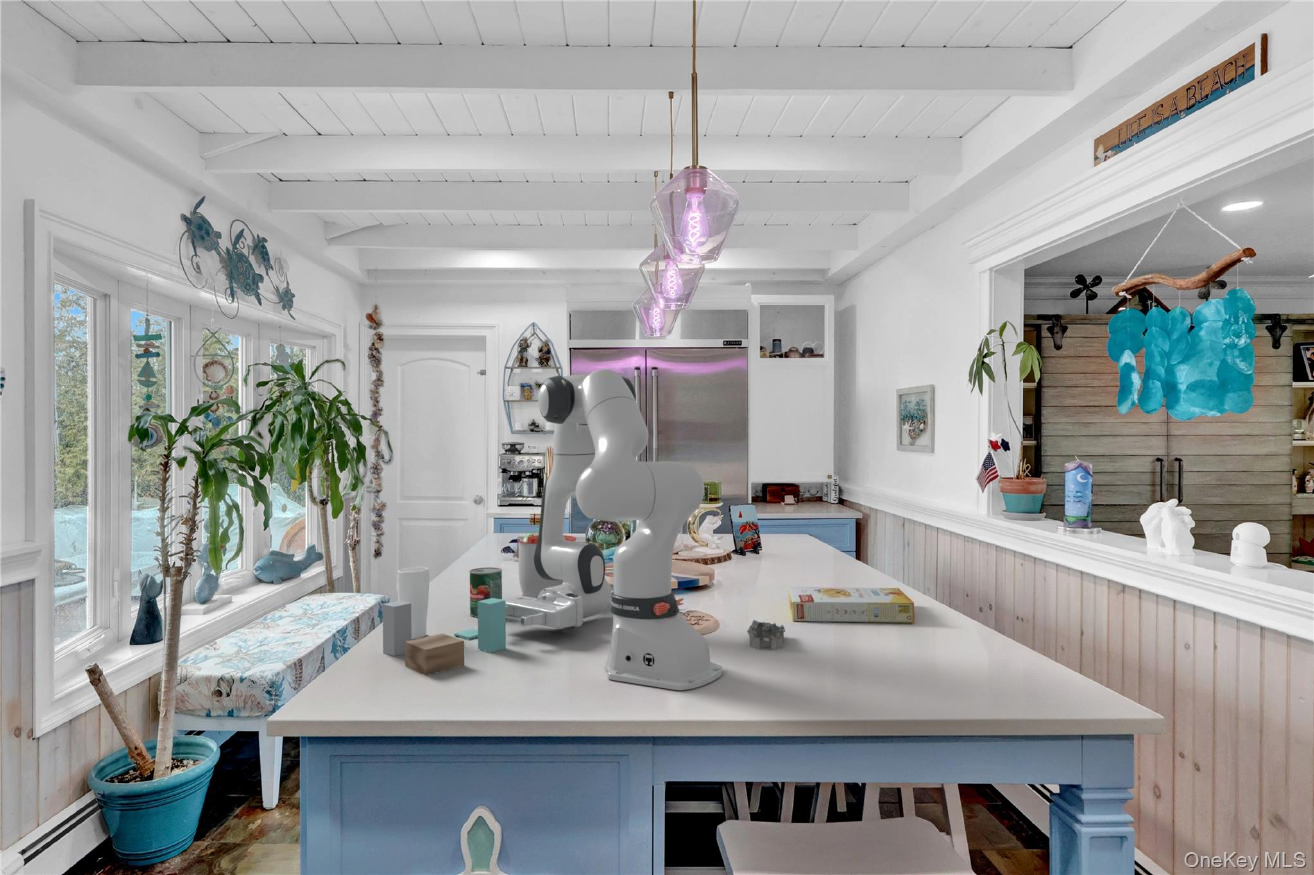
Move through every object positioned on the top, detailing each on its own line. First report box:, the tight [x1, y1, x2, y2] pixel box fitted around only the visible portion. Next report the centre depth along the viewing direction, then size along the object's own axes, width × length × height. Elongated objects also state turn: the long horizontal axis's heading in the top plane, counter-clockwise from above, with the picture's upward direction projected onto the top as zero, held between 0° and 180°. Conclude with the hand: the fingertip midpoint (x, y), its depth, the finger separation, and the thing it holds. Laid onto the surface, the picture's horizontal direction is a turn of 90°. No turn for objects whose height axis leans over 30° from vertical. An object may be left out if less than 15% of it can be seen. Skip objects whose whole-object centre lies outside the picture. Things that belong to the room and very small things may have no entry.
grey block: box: [382, 600, 413, 657], centre depth 151 cm, size 4×4×10 cm
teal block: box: [477, 598, 507, 653], centre depth 153 cm, size 4×4×10 cm
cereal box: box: [788, 585, 916, 624], centre depth 181 cm, size 20×6×28 cm
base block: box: [404, 632, 465, 676], centre depth 142 cm, size 8×8×5 cm
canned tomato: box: [469, 566, 503, 618], centre depth 183 cm, size 8×8×11 cm
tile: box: [453, 628, 478, 640], centre depth 163 cm, size 5×5×1 cm
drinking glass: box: [396, 566, 430, 640], centre depth 163 cm, size 7×7×15 cm
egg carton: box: [746, 619, 786, 651], centre depth 156 cm, size 11×8×4 cm
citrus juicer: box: [512, 534, 577, 598], centre depth 196 cm, size 16×17×20 cm
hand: (508, 618), depth 156 cm, fingers open, 8 cm apart
